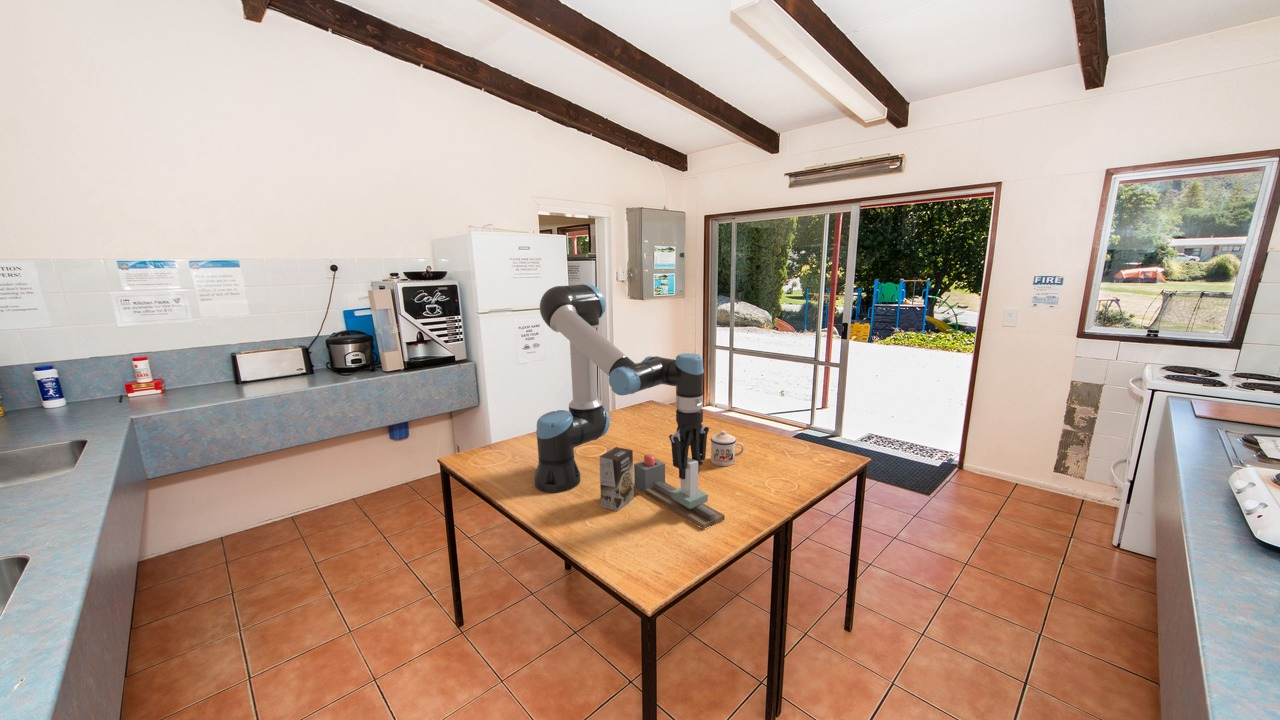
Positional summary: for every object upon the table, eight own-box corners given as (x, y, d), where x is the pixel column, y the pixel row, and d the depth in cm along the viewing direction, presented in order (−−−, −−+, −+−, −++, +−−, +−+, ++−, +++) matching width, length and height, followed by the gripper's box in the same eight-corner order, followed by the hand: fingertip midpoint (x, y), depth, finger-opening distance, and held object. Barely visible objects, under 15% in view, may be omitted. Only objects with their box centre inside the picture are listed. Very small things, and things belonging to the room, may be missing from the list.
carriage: (689, 509, 131) (690, 468, 129) (671, 498, 137) (671, 459, 135) (707, 501, 135) (708, 461, 133) (688, 491, 141) (689, 453, 139)
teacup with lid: (711, 466, 166) (711, 435, 164) (709, 456, 175) (709, 426, 173) (745, 467, 165) (746, 436, 163) (741, 456, 174) (742, 427, 172)
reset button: (648, 474, 148) (648, 459, 147) (642, 470, 151) (642, 456, 150) (657, 471, 150) (656, 456, 149) (650, 467, 153) (650, 453, 152)
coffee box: (617, 512, 137) (616, 460, 133) (600, 506, 140) (598, 456, 137) (634, 498, 144) (633, 449, 141) (617, 493, 148) (616, 445, 144)
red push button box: (645, 493, 147) (645, 470, 145) (634, 487, 152) (634, 464, 150) (665, 486, 152) (665, 463, 150) (653, 480, 156) (653, 457, 155)
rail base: (703, 529, 127) (704, 519, 126) (645, 493, 147) (645, 485, 146) (724, 520, 131) (724, 510, 131) (665, 486, 152) (665, 477, 151)
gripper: (676, 418, 123) (676, 499, 128) (719, 406, 133) (718, 483, 137) (658, 411, 129) (659, 489, 134) (701, 400, 138) (700, 474, 143)
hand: (689, 486), depth 135 cm, fingers closed on carriage, 3 cm apart
